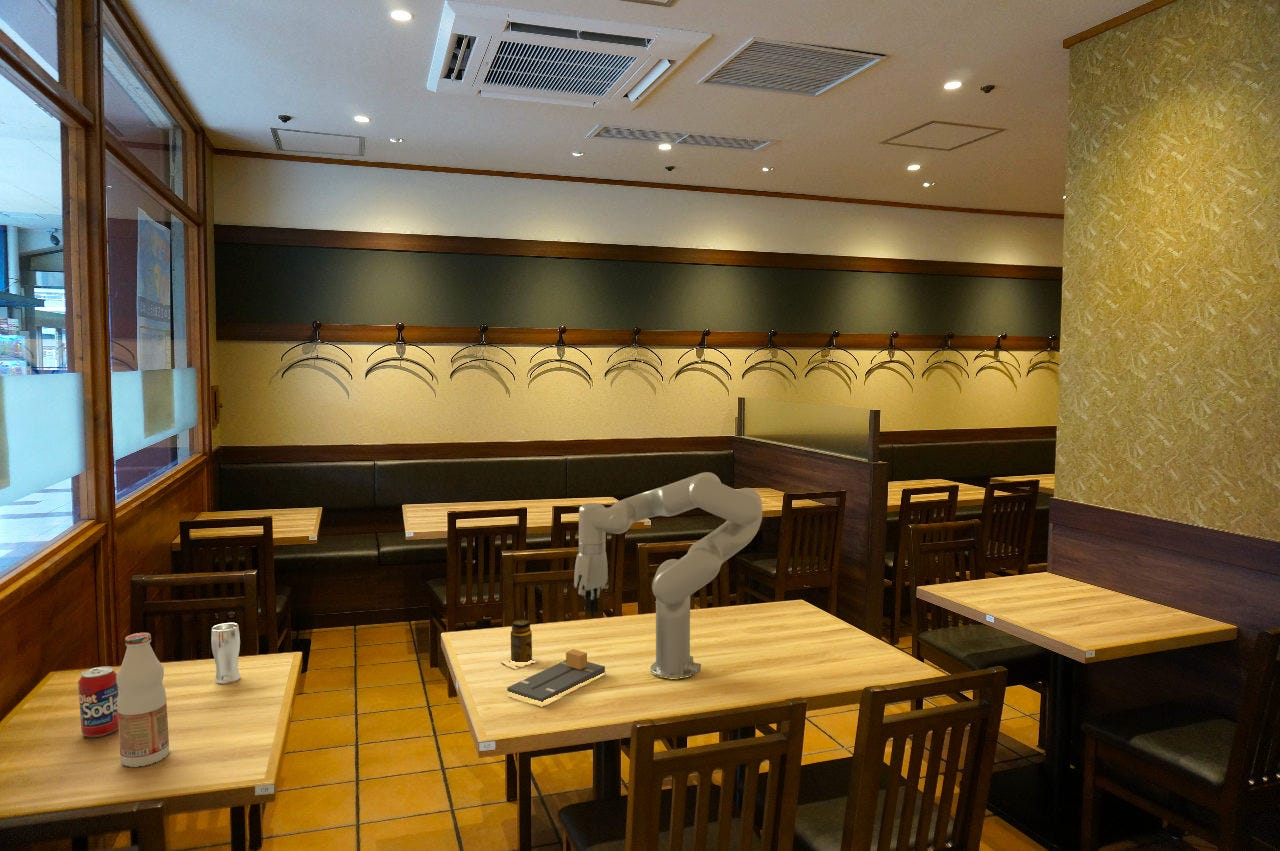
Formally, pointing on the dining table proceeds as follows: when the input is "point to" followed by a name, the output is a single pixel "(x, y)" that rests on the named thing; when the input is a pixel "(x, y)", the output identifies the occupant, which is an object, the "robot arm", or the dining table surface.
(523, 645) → the condiment
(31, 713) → the dining table surface
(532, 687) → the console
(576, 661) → the fader tab
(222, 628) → the beer glass
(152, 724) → the fruit juice
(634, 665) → the dining table surface
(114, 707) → the soda can
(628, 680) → the dining table surface
